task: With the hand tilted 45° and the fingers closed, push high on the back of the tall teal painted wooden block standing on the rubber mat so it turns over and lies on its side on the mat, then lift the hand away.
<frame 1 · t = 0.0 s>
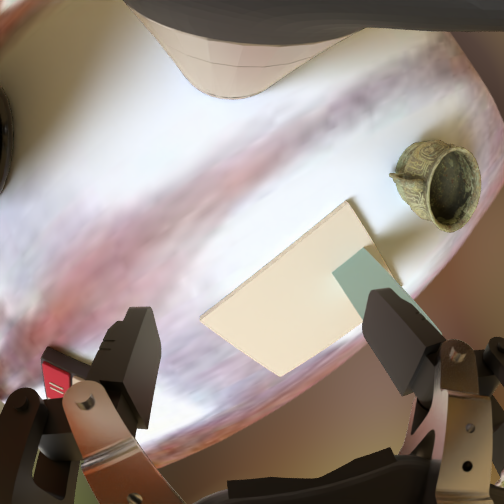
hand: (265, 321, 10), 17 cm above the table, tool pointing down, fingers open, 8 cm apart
block: (356, 272, 29), point 1 cm above the table, touching mat
calculator: (78, 382, 36), on the table
mat: (308, 303, 31), on the table
vessel: (419, 174, 26), on the table
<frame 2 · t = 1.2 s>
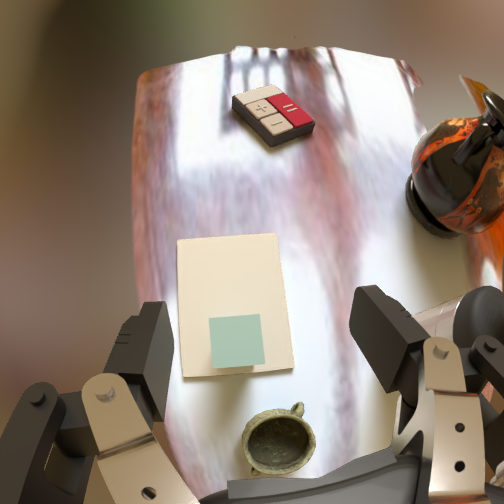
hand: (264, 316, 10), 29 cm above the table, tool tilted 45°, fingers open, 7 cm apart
block: (236, 348, 36), point 1 cm above the table, touching mat
calculator: (271, 120, 54), on the table
mat: (232, 303, 39), on the table
amphora vase: (433, 205, 48), on the table
vessel: (273, 433, 32), on the table
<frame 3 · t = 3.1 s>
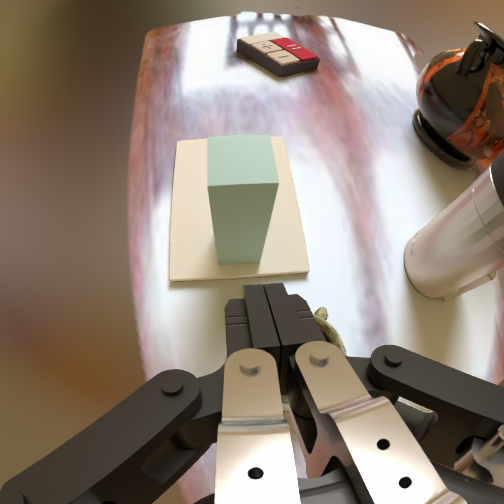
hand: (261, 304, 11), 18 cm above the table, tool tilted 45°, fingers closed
block: (237, 244, 30), point 1 cm above the table, touching mat
calculator: (276, 60, 49), on the table
mat: (234, 198, 34), on the table
amphora vase: (442, 140, 43), on the table
vessel: (284, 362, 27), on the table
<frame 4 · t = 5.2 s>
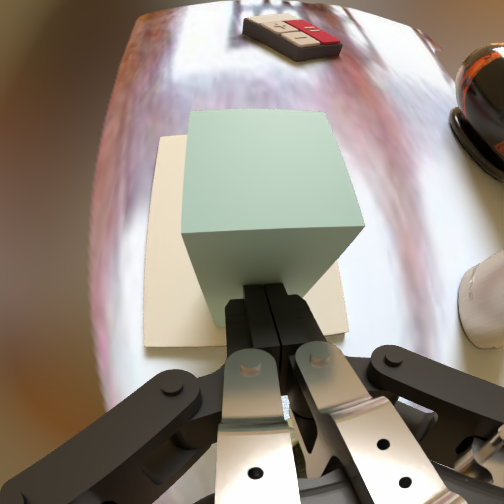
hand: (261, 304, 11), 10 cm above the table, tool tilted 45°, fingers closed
block: (245, 295, 20), point 1 cm above the table, touching gripper, mat
calculator: (289, 44, 39), on the table
mat: (238, 220, 23), on the table
amphora vase: (480, 147, 33), on the table
vessel: (308, 454, 16), on the table
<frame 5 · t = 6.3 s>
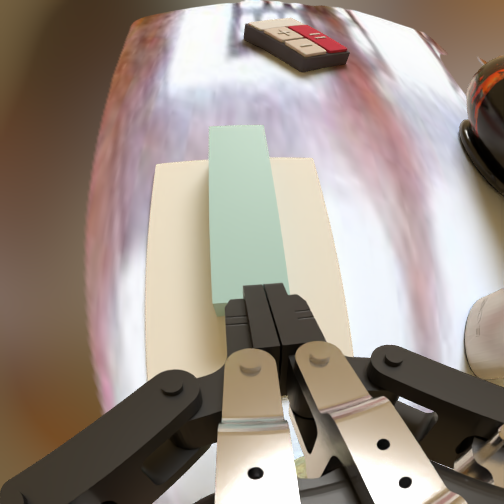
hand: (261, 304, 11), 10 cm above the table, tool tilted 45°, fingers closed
block: (249, 308, 17), point 3 cm above the table, tilted 90°, touching mat
calculator: (293, 51, 38), on the table
mat: (242, 262, 22), on the table
amphora vase: (489, 162, 32), on the table
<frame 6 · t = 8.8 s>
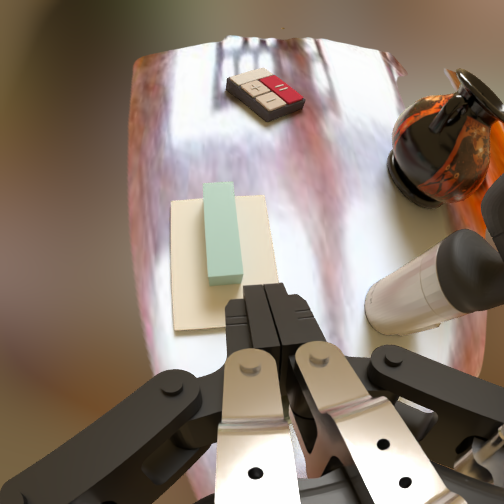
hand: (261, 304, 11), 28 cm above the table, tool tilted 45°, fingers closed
block: (225, 280, 36), point 3 cm above the table, tilted 90°, touching mat
calculator: (263, 99, 57), on the table
mat: (222, 258, 41), on the table
amphora vase: (415, 179, 52), on the table
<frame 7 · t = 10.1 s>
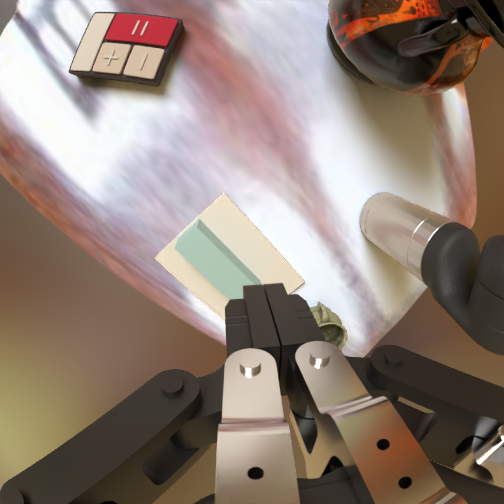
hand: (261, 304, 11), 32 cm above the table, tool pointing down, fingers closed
block: (250, 294, 44), point 3 cm above the table, tilted 90°, touching mat
calculator: (128, 49, 30), on the table
mat: (231, 269, 45), on the table
amphora vase: (368, 44, 33), on the table
vessel: (314, 321, 52), on the table
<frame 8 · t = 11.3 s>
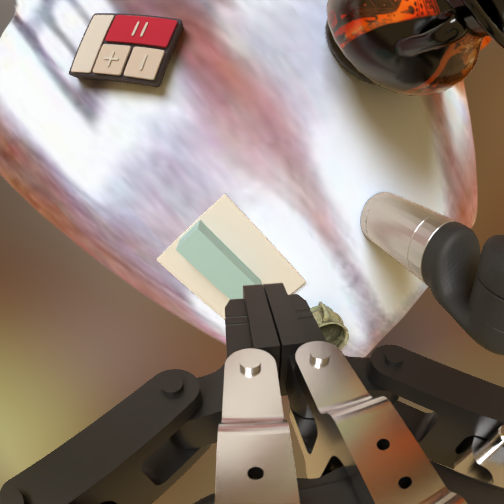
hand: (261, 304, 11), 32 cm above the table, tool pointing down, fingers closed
block: (252, 294, 44), point 3 cm above the table, tilted 90°, touching mat
calculator: (128, 50, 30), on the table
mat: (233, 269, 45), on the table
amphora vase: (367, 43, 33), on the table
vessel: (316, 321, 52), on the table
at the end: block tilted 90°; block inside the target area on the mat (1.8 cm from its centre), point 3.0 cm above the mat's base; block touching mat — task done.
